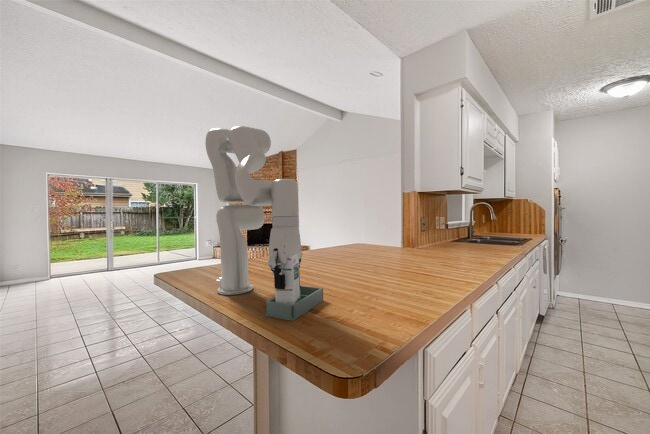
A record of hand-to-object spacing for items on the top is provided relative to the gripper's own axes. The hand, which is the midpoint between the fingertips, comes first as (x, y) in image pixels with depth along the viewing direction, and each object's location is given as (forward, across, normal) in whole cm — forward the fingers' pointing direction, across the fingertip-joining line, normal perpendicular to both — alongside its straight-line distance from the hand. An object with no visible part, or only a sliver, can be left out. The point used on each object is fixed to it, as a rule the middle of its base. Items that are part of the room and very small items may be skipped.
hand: (287, 284), depth 80 cm
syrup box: (+6, 0, 0) cm, 6 cm away
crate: (+8, -4, 0) cm, 9 cm away
